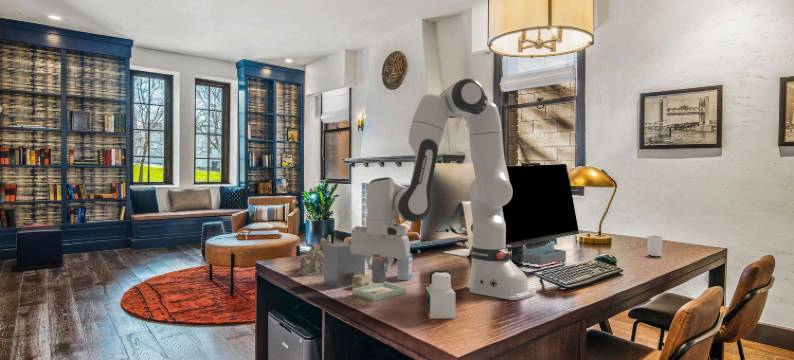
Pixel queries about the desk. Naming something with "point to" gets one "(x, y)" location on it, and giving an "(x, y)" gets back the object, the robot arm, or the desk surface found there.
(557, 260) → the organizer bin
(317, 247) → the ceramic cottage
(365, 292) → the tray
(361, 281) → the maple block
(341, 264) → the console
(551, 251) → the squiggly pen holder
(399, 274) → the medicine box
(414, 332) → the desk surface
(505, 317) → the desk surface
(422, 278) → the desk surface
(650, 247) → the drinking glass
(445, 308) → the medicine bottle
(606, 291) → the desk surface
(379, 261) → the cartridge
